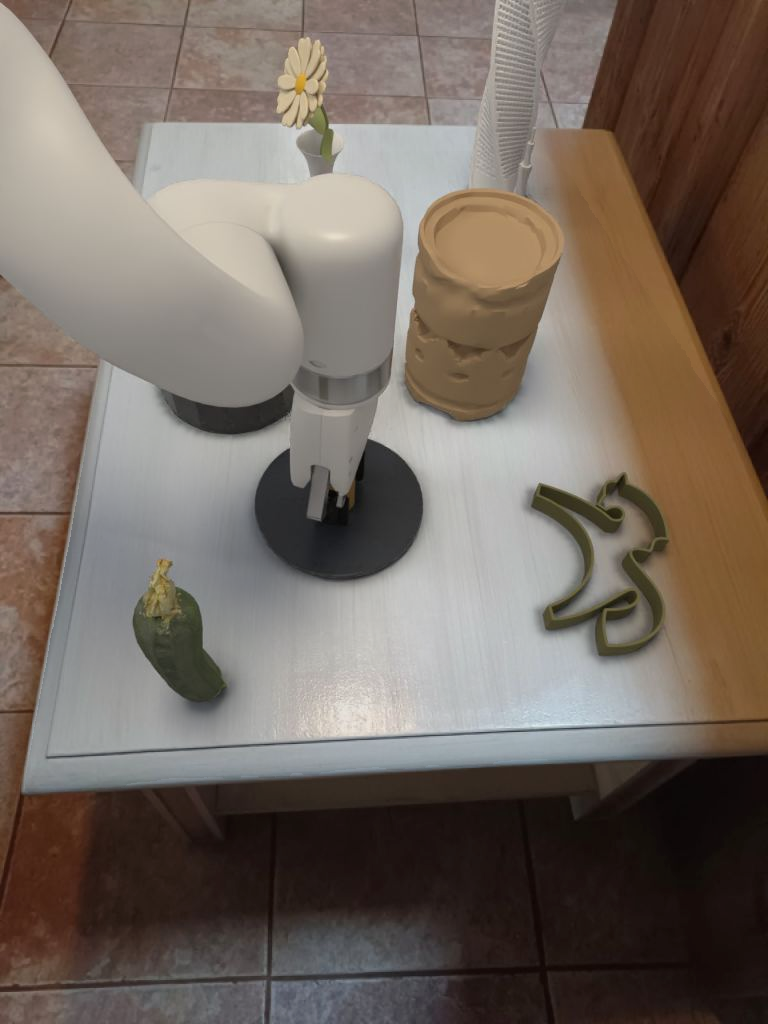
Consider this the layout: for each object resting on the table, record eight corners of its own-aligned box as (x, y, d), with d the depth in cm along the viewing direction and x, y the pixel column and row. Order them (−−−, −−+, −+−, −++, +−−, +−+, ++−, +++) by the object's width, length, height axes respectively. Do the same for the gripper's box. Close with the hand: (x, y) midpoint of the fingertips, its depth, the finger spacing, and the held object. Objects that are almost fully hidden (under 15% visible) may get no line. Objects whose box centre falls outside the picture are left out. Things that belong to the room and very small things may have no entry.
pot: (317, 419, 73) (315, 352, 65) (171, 445, 71) (150, 379, 63) (289, 320, 81) (283, 248, 73) (155, 340, 78) (134, 268, 70)
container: (511, 432, 74) (557, 294, 59) (391, 407, 75) (405, 265, 59) (526, 346, 80) (570, 202, 65) (415, 324, 81) (433, 177, 66)
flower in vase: (276, 221, 90) (257, -9, 68) (368, 223, 90) (378, -4, 69) (272, 293, 83) (249, 63, 62) (371, 295, 83) (383, 68, 62)
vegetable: (192, 728, 56) (130, 627, 39) (162, 686, 58) (89, 572, 41) (239, 692, 58) (198, 580, 41) (208, 652, 60) (157, 529, 43)
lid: (443, 560, 66) (453, 522, 60) (273, 598, 63) (266, 562, 57) (396, 428, 73) (401, 384, 68) (242, 456, 70) (234, 413, 65)
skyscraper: (452, 218, 92) (492, -42, 68) (463, 181, 96) (504, -75, 72) (518, 231, 91) (581, -27, 67) (525, 193, 95) (588, -62, 72)
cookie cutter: (528, 478, 71) (533, 466, 69) (649, 485, 71) (656, 473, 70) (543, 652, 61) (549, 643, 60) (682, 659, 62) (692, 651, 60)
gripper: (323, 268, 56) (326, 419, 71) (247, 433, 47) (269, 565, 62) (417, 289, 55) (400, 437, 71) (358, 461, 46) (353, 586, 62)
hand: (339, 496), depth 66 cm, fingers open, 4 cm apart
